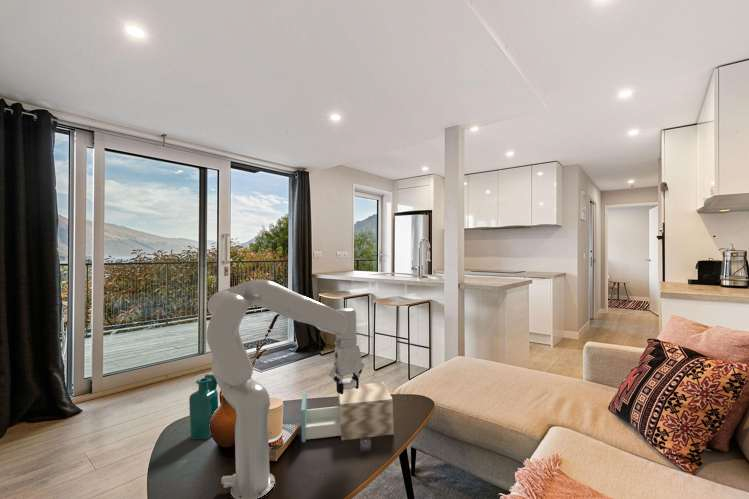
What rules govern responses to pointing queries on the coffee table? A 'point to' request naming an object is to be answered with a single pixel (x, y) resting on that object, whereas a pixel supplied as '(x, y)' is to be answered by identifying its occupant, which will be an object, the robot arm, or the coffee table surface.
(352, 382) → the disc
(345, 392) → the cabinet
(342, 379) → the robot arm
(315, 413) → the drawer
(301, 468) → the coffee table surface
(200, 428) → the teal bottle vase
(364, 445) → the stand
